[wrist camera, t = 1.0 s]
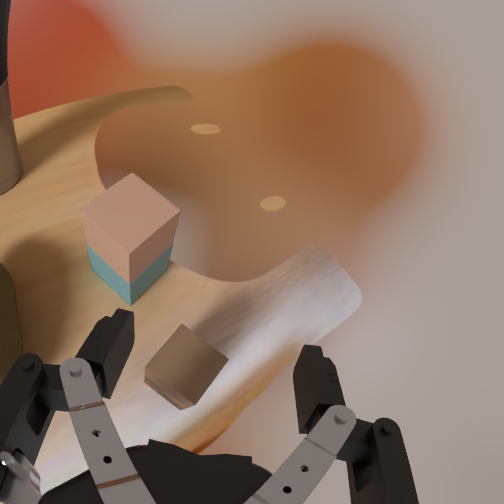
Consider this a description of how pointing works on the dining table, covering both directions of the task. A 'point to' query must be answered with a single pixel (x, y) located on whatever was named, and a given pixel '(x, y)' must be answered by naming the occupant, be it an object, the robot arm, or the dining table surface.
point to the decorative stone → (8, 325)
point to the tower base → (139, 284)
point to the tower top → (129, 226)
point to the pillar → (184, 368)
